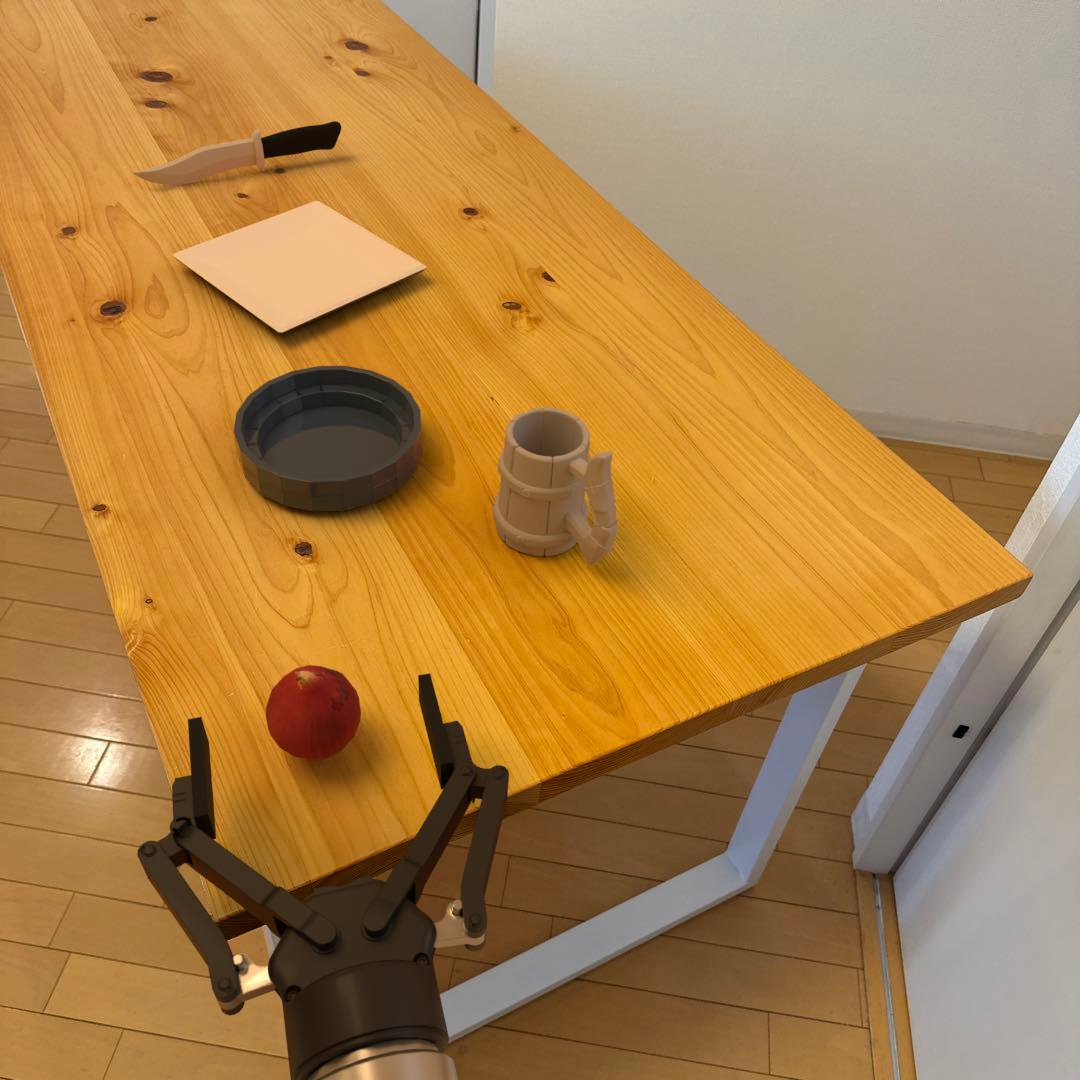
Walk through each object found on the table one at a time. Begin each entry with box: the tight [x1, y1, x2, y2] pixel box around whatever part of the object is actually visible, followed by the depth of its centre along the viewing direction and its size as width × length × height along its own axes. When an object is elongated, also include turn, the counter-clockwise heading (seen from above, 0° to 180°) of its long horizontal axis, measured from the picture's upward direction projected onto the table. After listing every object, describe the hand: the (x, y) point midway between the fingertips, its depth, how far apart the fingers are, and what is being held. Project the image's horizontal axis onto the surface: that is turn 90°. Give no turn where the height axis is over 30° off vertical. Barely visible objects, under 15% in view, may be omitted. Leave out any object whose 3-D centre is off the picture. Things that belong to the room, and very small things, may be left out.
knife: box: [132, 120, 342, 186], centre depth 119 cm, size 25×2×5 cm, turn 118°
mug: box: [492, 406, 619, 566], centre depth 77 cm, size 8×12×12 cm, turn 40°
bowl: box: [233, 365, 423, 512], centre depth 85 cm, size 15×15×4 cm
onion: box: [265, 664, 362, 761], centre depth 63 cm, size 6×6×8 cm
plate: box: [172, 200, 427, 335], centre depth 105 cm, size 19×19×2 cm
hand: (314, 707), depth 61 cm, fingers open, 13 cm apart
